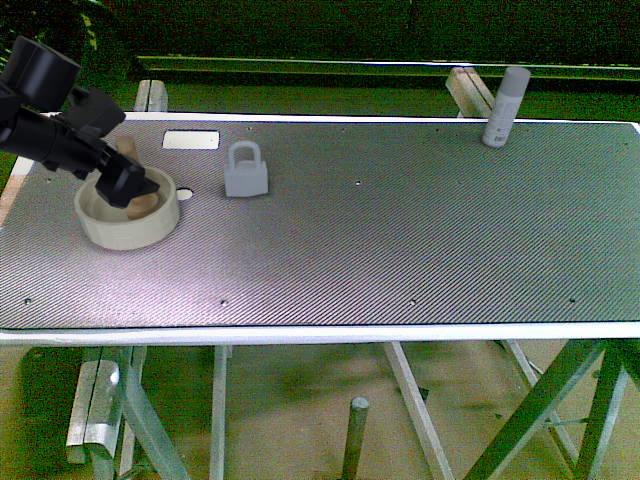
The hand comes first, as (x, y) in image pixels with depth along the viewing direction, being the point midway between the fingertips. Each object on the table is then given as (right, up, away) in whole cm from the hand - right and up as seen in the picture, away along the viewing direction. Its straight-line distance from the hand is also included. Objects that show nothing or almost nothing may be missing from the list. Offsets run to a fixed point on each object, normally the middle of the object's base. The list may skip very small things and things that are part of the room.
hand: (141, 174), depth 72 cm
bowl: (-3, -7, +4) cm, 8 cm away
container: (+63, +10, +26) cm, 69 cm away
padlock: (+14, -1, +11) cm, 18 cm away
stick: (-1, -5, +4) cm, 7 cm away
